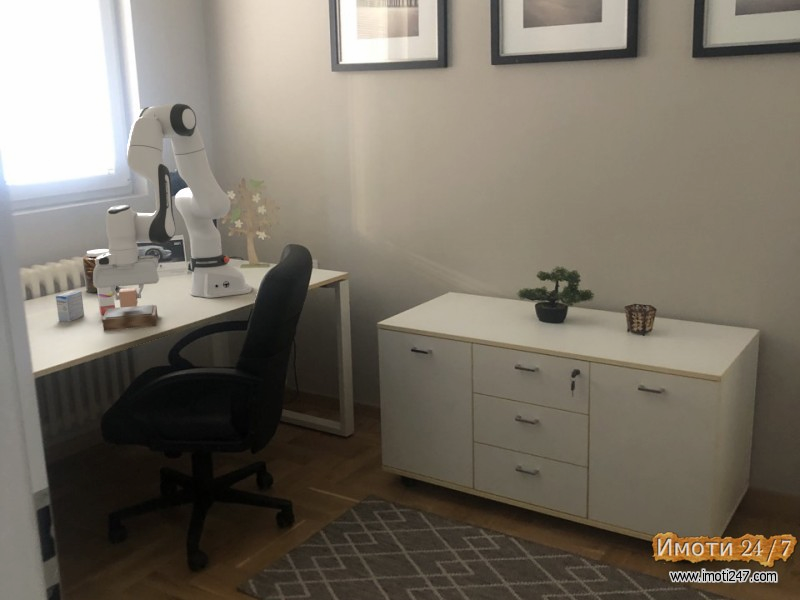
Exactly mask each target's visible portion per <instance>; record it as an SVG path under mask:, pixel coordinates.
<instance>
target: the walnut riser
mask: <svg viewBox="0 0 800 600" xmlns="http://www.w3.org/2000/svg"><path fill="white" fill-rule="evenodd" d="M101 321H102V329H103V331H104V332H105V331H116V330H126V328H128V329H137V328H139V329H140V328H148V327H149V328H150V327H156V326H157V321H158V306H157V304H146V305H137V306H134V307H120V306H119V307H115V308H109V309H106V312H105V314H103V316H102V320H101Z"/></svg>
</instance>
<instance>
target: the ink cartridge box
mask: <svg viewBox="0 0 800 600" xmlns="http://www.w3.org/2000/svg"><path fill="white" fill-rule="evenodd" d="M97 292H98V293H97V299H98V305H99V306H98V307H99V312H100V314H101V315H104V314H105V312H106V309H109V308H116V306H115V295H114V294H113V292H112V291H111V287H102V288H97Z"/></svg>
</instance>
